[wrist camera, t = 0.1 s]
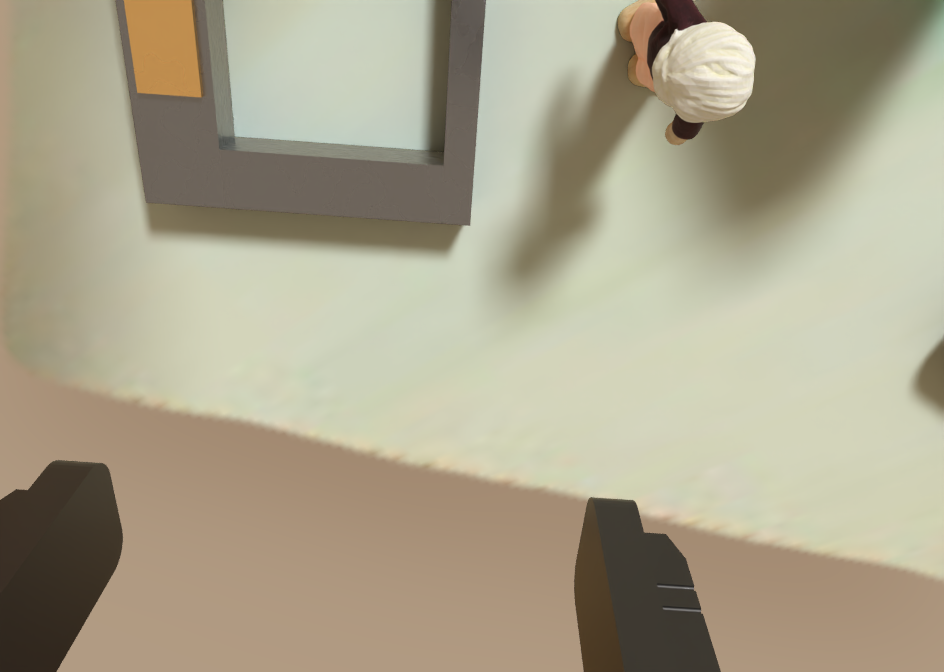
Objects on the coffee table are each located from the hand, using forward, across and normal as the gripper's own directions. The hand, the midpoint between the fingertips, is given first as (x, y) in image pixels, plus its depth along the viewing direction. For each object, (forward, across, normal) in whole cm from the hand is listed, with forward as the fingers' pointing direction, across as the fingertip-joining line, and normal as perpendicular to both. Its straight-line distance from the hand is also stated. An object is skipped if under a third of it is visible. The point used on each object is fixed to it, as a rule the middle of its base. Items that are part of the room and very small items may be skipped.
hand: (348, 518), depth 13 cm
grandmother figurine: (+29, -10, -5) cm, 31 cm away
